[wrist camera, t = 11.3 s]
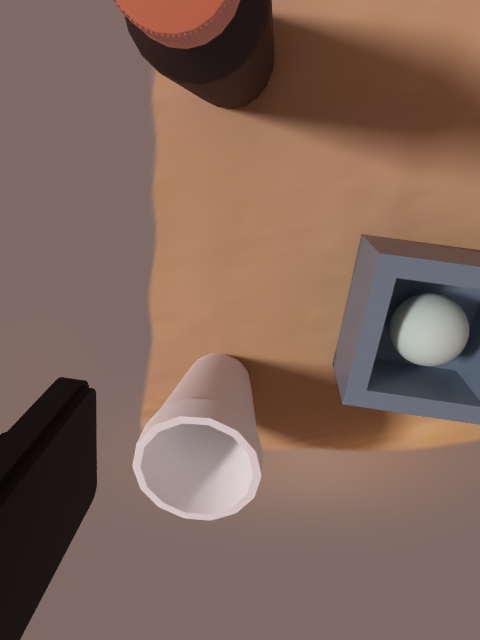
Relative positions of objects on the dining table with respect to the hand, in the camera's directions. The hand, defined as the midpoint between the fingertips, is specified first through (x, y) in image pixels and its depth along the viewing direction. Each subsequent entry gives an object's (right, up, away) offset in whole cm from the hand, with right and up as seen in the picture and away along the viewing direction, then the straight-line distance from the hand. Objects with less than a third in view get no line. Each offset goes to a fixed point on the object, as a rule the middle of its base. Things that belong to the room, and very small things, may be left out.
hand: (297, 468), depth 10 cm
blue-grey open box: (+15, +4, +30) cm, 34 cm away
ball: (+14, +2, +26) cm, 30 cm away
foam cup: (-3, -3, +34) cm, 35 cm away
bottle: (-2, +23, +24) cm, 33 cm away
